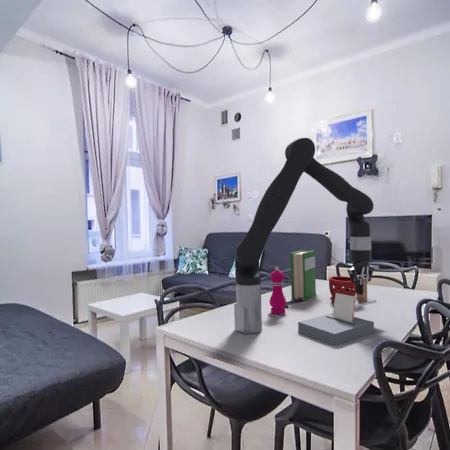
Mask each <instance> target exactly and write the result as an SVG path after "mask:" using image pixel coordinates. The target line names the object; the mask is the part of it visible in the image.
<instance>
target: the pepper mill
mask: <svg viewBox="0 0 450 450" xmlns="http://www.w3.org/2000/svg"><path fill="white" fill-rule="evenodd" d="M269 278H270V280H271V286H272V293H271V296H270V298H269V306H271V308H270V313H271V314H273V315H284V314H285V313H286V308H284V307H285V305H286V302H287V300H286V298H285V297H286V296H285V295H284V292H283V286H284V282H283V281H284V279H285V274H284V273H283V272H282V271H281V270H280V269H279V267H278V266H276V267H275V268H274V271H272V272H271V273H270V276H269Z"/></svg>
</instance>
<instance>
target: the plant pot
mask: <svg viewBox="0 0 450 450" xmlns="http://www.w3.org/2000/svg"><path fill="white" fill-rule="evenodd" d="M354 280H355V279H354ZM328 289H329V292H330V295H331V296H330V297H329V299H330V301H331V302H332V303H335V296H336V293H339V294H344V295H349V296H354V297H356V284H355V283H352V282H351V279H350V276H339V275H337V276H335V275H334V276H330V277H329V278H328Z"/></svg>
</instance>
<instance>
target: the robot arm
mask: <svg viewBox="0 0 450 450" xmlns="http://www.w3.org/2000/svg"><path fill="white" fill-rule="evenodd" d="M315 153H316V145H315V142H314V141H313V140H312V139H311V138H309V137H305V136H304V137H300V138H297V139H295V140H293V141H292V142H290V143H289V144H288V145H287V146H286V148H285V151H284V155H285V159H286V161H285V162H284V165H283V166H282V169H281V170H280V172H279V173H278V174H277V175H276V177H275V178H274V179H273V180H272V181H271V183H270V184H269V186H268V187H267V189H266V190H265V192H264V194H263V196H262V198H261V200H260V201H259V205H258V206H257V209H256V212H255V215H254V218H253V221H252V224H251V226H250V228H249V230H248V231H247V233H246V235H245V236H244V238H243V239H242V240H241V241H239V242H238V243H237V245H236V246H235V249H234V269H235V271H234V273H235V274H234V275H235V296H236V299H235V300H236V301H235V302H236V303H234V305H233V306H234V308H233V309H234V312H233V313H234V331H237V332H239V333H241V334H243V335H246V334H257V333H260V332H262V330H263V325H262V324H263V322H262V321H263V318H262V316H263V315H262V313H263V312H262V279H261V278H262V277H261V271H260V259H261V257H262V255H263V254H262V253H263V251H264V249H265V246H266V243H267V241H268V239H269V237H270V235H271V233H272V232H273V230H274V229H275V227H276V226H277V223H278V222H279V220H280V219H281V217H282V215H283V213H284V212H285V211H286V208H287V206H288V204H289V201H290V200H291V198H292V196H293V193H294V191H295V189H296V187H297V185H298V183H299V181H300V179H301V177H302V175H303V174H304V173H305V174H307V175H308V176H309V177H311V178H312V179H314V180H315V181H316V182H318V183H319V184H320V185H321V186H322V187H323V188H325V190H327V191H328V192H329V193H330V194H331V195H332V196H334V198H335V199H337V200H339V201H340V202H344V203H346V209H345V210H346V215H347V219H348V222H349V223H348V224H349V225H350V226H349V227H350V240H349V250H350V251H349V252H350V253H349V254H350V255H349V256H350V258H349V259H350V261H352V264H351V265H352V266H351V268H348V269H347V274H348V277H350V279H351V282H352V283H355V284H356V293H357V294H362V279H367V284H368V283H369V282H371V280H372V278H373V274H374V270H375V267H374V266H370V262H372V259H373V258H372V242H371V241H372V240H371V224H370V223H369V222H368V221H366V220H365V216H364V215H368V214H370V213H372V211H373V210H374V206H375V205H374V202H373V200H372V198H371V197H370V196H369V195H367V194H366V193H364V192H363V191H361V190H360V189H357V188H355V187H354V186H352V185H351V183H350V182H348V181H347V180H346V179H345V178H344V177H343V176H342V175H340V174H338V172H335V171H334V170H332V169H330V168H328V167H326V166H325V165H323V164H322V163H320V162H319V161H317V160H316V159H315V157H314V156H315ZM354 279H355V280H354ZM358 279H359V280H358Z"/></svg>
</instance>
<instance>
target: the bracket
mask: <svg viewBox="0 0 450 450" xmlns="http://www.w3.org/2000/svg"><path fill="white" fill-rule="evenodd" d="M298 303H304V299H303V298H301V297H299V298H295V299H291V300H289V301H286V305H285V307H284V308H285V309H287V308H288V309H289V308H290V307H289V306H290V305H291V304H298Z"/></svg>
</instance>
